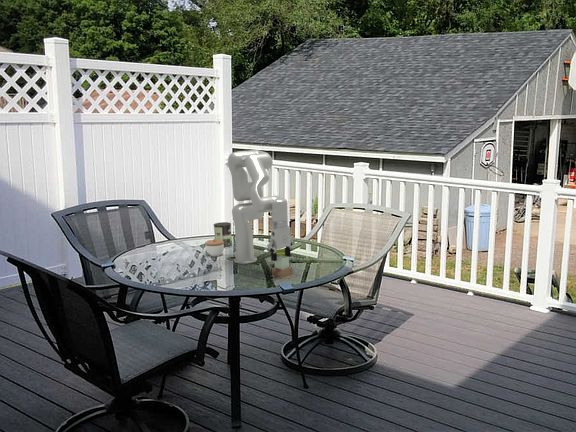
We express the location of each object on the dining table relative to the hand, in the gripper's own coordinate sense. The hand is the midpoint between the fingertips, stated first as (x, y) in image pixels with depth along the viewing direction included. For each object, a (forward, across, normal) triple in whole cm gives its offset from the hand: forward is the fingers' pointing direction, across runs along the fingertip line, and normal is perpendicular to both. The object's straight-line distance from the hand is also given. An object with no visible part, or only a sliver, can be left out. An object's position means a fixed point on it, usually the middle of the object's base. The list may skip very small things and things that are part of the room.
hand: (280, 258), depth 294 cm
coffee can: (+12, +26, +72) cm, 77 cm away
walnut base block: (+8, 0, -1) cm, 8 cm away
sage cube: (+4, 0, -1) cm, 4 cm away
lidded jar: (+12, +10, +61) cm, 63 cm away
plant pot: (+10, +13, +12) cm, 20 cm away
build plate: (+10, 0, -1) cm, 10 cm away
